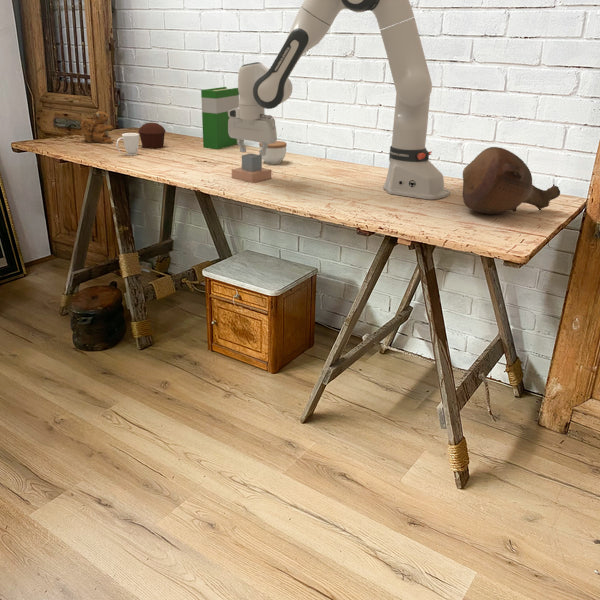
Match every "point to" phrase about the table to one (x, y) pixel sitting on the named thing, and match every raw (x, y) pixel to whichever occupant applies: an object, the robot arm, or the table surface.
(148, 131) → the muffin
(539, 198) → the brown bulbous piece
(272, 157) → the lidded jar
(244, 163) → the cube
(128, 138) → the cup
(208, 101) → the hardback book
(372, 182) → the table surface
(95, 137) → the stuffed squirrel
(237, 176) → the pedestal
